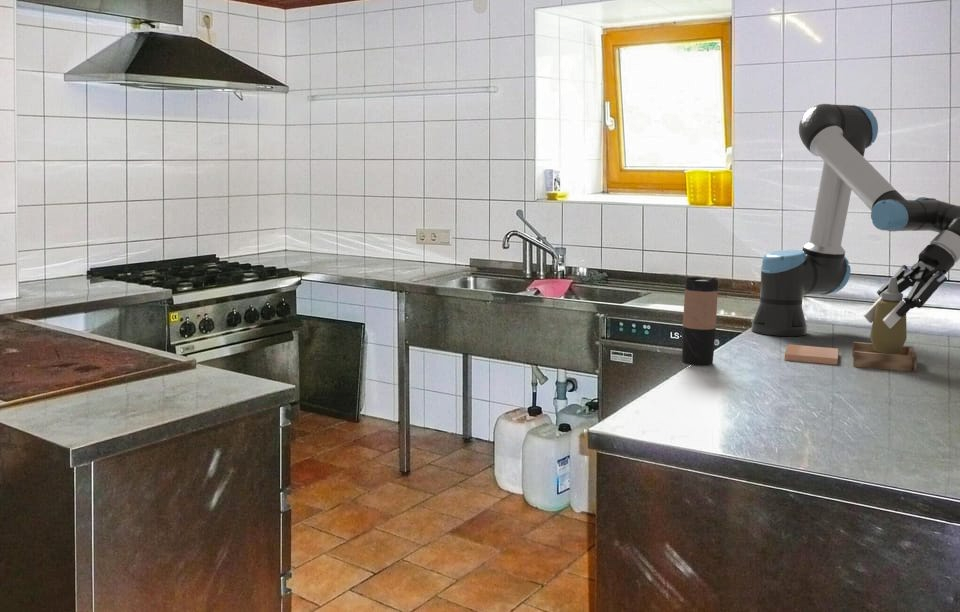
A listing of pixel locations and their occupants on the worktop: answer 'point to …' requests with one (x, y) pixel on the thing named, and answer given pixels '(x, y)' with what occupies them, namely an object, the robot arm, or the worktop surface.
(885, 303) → the squeeze bottle
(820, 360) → the terracotta tile
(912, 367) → the wooden tray
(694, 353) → the travel mug
